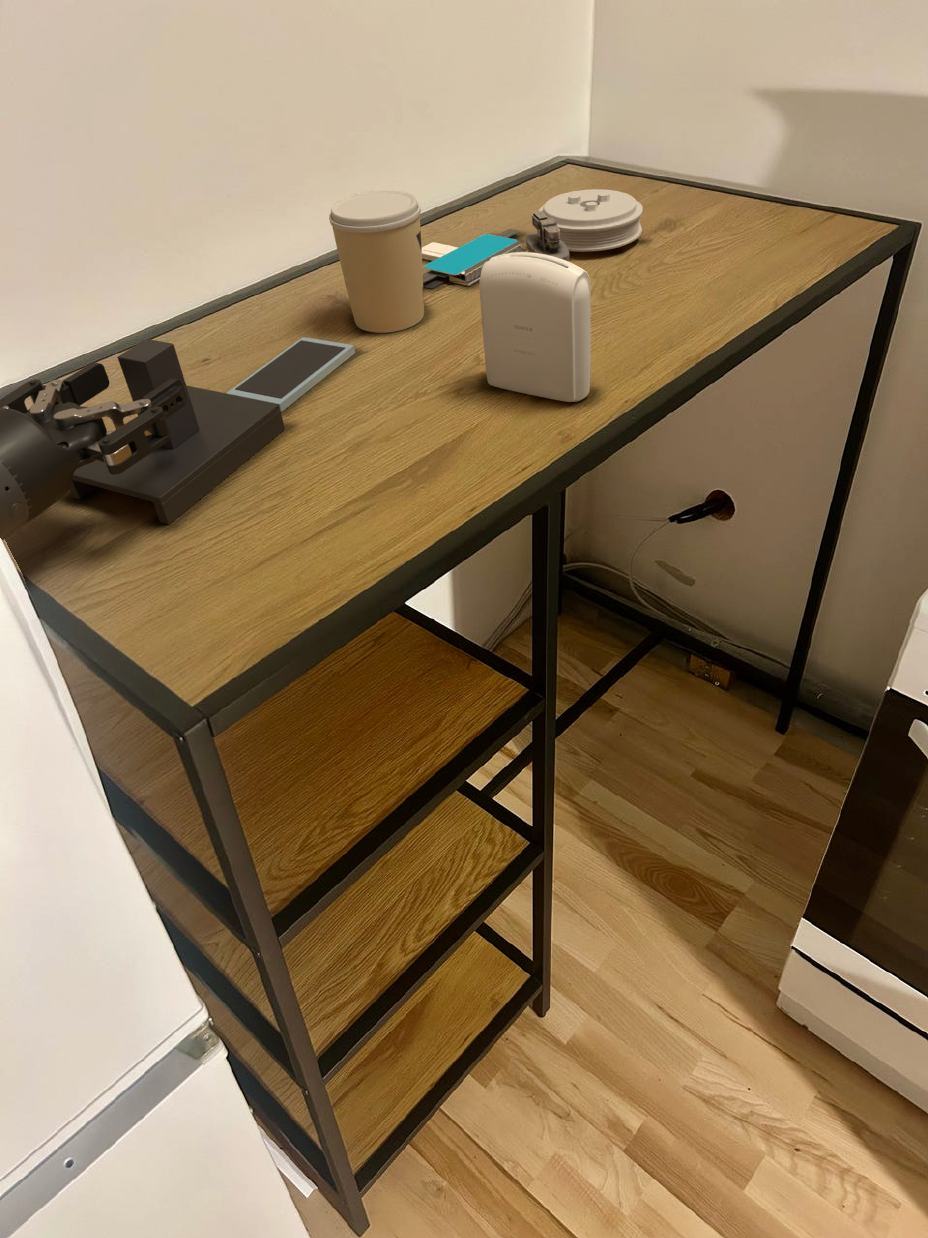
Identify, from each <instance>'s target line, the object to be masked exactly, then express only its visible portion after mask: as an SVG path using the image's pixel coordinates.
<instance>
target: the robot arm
mask: <svg viewBox="0 0 928 1238" xmlns="http://www.w3.org/2000/svg"><path fill="white" fill-rule="evenodd" d="M109 386H110V379H109V376H108V373H107V371H106V368H105V366H104V364H102V363H99V362H95V361H94V362H90V363H89V364H87V365H86V366H84V367H83V368H81V369H79V370H77V371H76V372H74V373H73V374H71V375H70V376H68V377H66V378H64V379H63V380H62V379H53V380H50V381H49V382H47V383H46V384H45V385H44V384H43V383H42V381H41V380H40V379H31V380H29V381H27V382H25V383H24V384H22V385H21V386H19V387H18V388H16V389H15V390H13V391H11V392H10V393H8V394H7V395H5V396H4V397H1V398H0V538H1V539H2V540H3V541H5V540H6V539H7V538H9V537H10V536H12V535H13V534H14V533H15V532H17V531H19V530H20V529H21V528H23V527H24V526H26V525H27V524H28V523H30V522H31V521H32V520H33V519H35V518H36V517H39V515H41V514H42V513H43V512H45V511H46V510H48V509H49V508H50V507H52V506H53V505H54V504H56V503H57V502H59V501H60V500H62V499H63V498H64V497H66V495H67V494H68V493H69V492H70V491H69V489H70V486H71V481H72V477H73V474H74V472H75V470H76V469H78V468H80V467H82V466H84V465H87V464H89V463H92V462H94V461H96V460H98V461H101V462H104V463H106V466H107V468H108V471H109V473H110V474H113V475H116V474H120V473H122V472H124V471H125V470H127V469H128V468H130V467H131V466H133V465H134V464H136V463H137V462H139V461H140V460H141V459H143V458H144V457H146V456H147V455H149V454H150V453H152V452H153V451H155V450H156V449H158V448H159V447H161V446H162V445H164V444H165V443H167V442H168V441H170V440H171V439H172V436H171V433H170V430H169V427H168V424H167V421H166V419H167V418H168V417H170V416H171V415H172V414H174V413H175V412H177V411H178V410H179V409H181V408H182V407H184V406H185V404H186V403H187V397H186V394H185V391H184V388H183V384H182V382H181V381H180V380H178V379H173V378H171V379H169V380H167V381H166V382H164V383H163V384H161V385H160V386H159V387H157V388H156V389H154V390H153V391H151V392H150V393H148V394H147V395H145V396H144V397H142V399H141V400H137V401H133V400H132V401H130V402H126V403H122V404H119V403H117V402H116V401H114V400H110V401H106V402H102V403H99V404H94V405H91V406H82V405H83V404H85V403H87V402H88V401H90V400H91V399H93V398H95V397H96V396H98V395H99V394H101V393H102V392H104V391H105V390H107V389H108V388H109ZM28 398H30V399H31V401H32V403H33V404H31V405H30V408H28V407H27V405H26V399H28ZM133 415H137V416H136V417H134V418H132V419H131V420H129V421H128V422H126V423H125V422H124V419H125V418H126V417H130V416H133ZM103 418H109V419H111V421H112V424H113V427H114V429H115V430H114V431H112V430H108V429H107V426H106V424H105V422H104V419H103ZM152 434H153V435H152ZM148 435H151V436H150V437H148V438H147V439H146V436H148Z"/></svg>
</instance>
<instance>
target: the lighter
mask: <svg viewBox="0 0 928 1238" xmlns="http://www.w3.org/2000/svg"><path fill="white" fill-rule="evenodd" d="M531 225H532V226H533V227H534V229H536V230H537V231H533V232H529V233H527V234H526V236H525V244H526V248H527V250H528V252H530V253H539V254H545V255H549V256H553V257H557V258H560V259H563V260H565V261H568V262H570V251H568V248H567V246H566V245H565V244H564V242H563V241H561V240H560V229H559V228H558V226H557V222H556V219H555V218H551V219H549V218H548V217H547V216H546V215H545V214H544V213H543V212H542V211H538V210H535V211H533V213H532V214H531Z"/></svg>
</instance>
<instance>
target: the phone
mask: <svg viewBox="0 0 928 1238" xmlns="http://www.w3.org/2000/svg"><path fill="white" fill-rule="evenodd" d="M355 354H356V350H355V345H354V344H349V343H342V342H337V341H329V340H324V339H317V338H312V337H307V336H306V337H305V336H302V337H300V338H299V339H298V340H296V341H295V342H294V343H292V344H291V345H289V346H288V347H287V348H285V349H284V350H283V351H281V352H280V353H279V354H278V355H276V356H275V357H273V358H272V359H270V360H269V361H268V362H266V363H265V364H263V365H262V366H261V367H260V368H258V369H257V370H256V371H254V372H253V373H251V374H250V375H249V376H247V377H246V378H245V379H243V380H242V381H240V382H239V383H238V384H236V385H235V386H234V387H232V388H231V389H229V390H228V391H227V392H226V393H227V394H232V395H237V396H241V397H246V398H251V399H256V400H261V401H266V402H271V403H276V404H279V406H280V410H281V413H282V412H284V411H285V410H286V409H287V408H289V407H290V406H291V405H292V404H294V403H295V402H296V401H298V400H299V399H300V398H301V397H302V396H304V395H305V394H307V393H308V392H309V391H310V390H311V389H313V388H314V387H315V386H317V384H319V383H320V382H321V381H322V380H324V379H325V378H326V377H328V376H329V375H330V374H331V373H332V372H334V371H335V370H337V368H339V367H340V366H341V365H343V364H345V362H346V361H348V359H350V358H351V357H352V356H353V355H355Z"/></svg>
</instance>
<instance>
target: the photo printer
mask: <svg viewBox="0 0 928 1238" xmlns="http://www.w3.org/2000/svg"><path fill="white" fill-rule="evenodd" d="M591 285H592V283H591V278H590V275H589V273H588V272H587V271H586V270H585V269H583V268H582V267H580V266H578V265H576V264H574V263H573V262H570V261H569V262H568V261H565V260H563V259H560V258H557V257H553V256H549V255H545V254H539V253H530V252H515V253H507V254H502V255H498V256H495V257H492V258H491V259H490V260H489V261H487V262H485V263H484V265H483V268H482V271H481V275H480V281H479V286H478V287H479V288H478V290H479V301H480V314H481V326H482V327H481V328H482V337H483V351H484V362H485V363H484V364H485V375H486V381H487V383H488V384H489V385H490V386H492V387H494V388H499V389H504V390H507V391H511V392H516V393H520V394H526V395H531V396H535V397H540V398H544V399H550V400H555V401H561V402H567V403H572V402H573V403H577V402H580V401H583V400H584V399H585V398H587V397H588V396H589V394H590V391H591V383H592V286H591Z"/></svg>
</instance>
